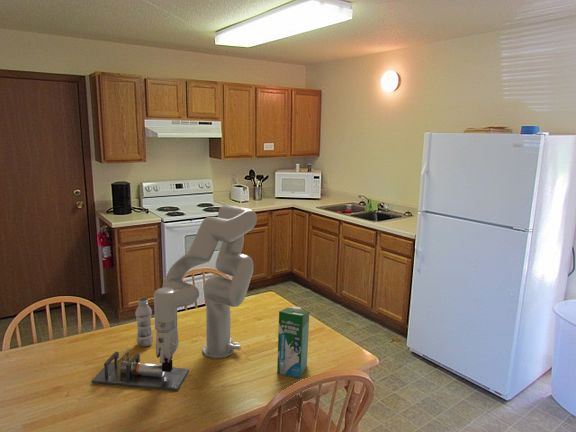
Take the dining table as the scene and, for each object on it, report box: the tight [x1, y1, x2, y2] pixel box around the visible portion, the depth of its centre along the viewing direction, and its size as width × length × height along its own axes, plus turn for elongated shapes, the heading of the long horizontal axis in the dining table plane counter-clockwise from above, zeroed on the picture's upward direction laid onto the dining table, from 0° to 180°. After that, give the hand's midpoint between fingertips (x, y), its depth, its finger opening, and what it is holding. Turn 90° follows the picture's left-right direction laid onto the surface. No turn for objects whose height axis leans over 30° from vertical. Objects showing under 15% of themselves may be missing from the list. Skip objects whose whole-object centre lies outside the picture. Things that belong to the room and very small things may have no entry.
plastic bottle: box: [135, 297, 154, 348], centre depth 171 cm, size 6×7×20 cm
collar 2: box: [126, 352, 141, 380], centre depth 150 cm, size 1×8×6 cm, turn 174°
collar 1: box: [103, 351, 120, 378], centre depth 151 cm, size 1×8×6 cm, turn 175°
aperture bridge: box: [117, 348, 131, 379], centre depth 151 cm, size 1×8×8 cm, turn 174°
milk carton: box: [276, 306, 310, 379], centre depth 157 cm, size 9×9×25 cm
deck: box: [91, 361, 190, 392], centre depth 151 cm, size 31×12×1 cm, turn 85°
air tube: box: [121, 360, 165, 377], centre depth 150 cm, size 16×4×4 cm, turn 85°
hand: (167, 370), depth 149 cm, fingers closed
